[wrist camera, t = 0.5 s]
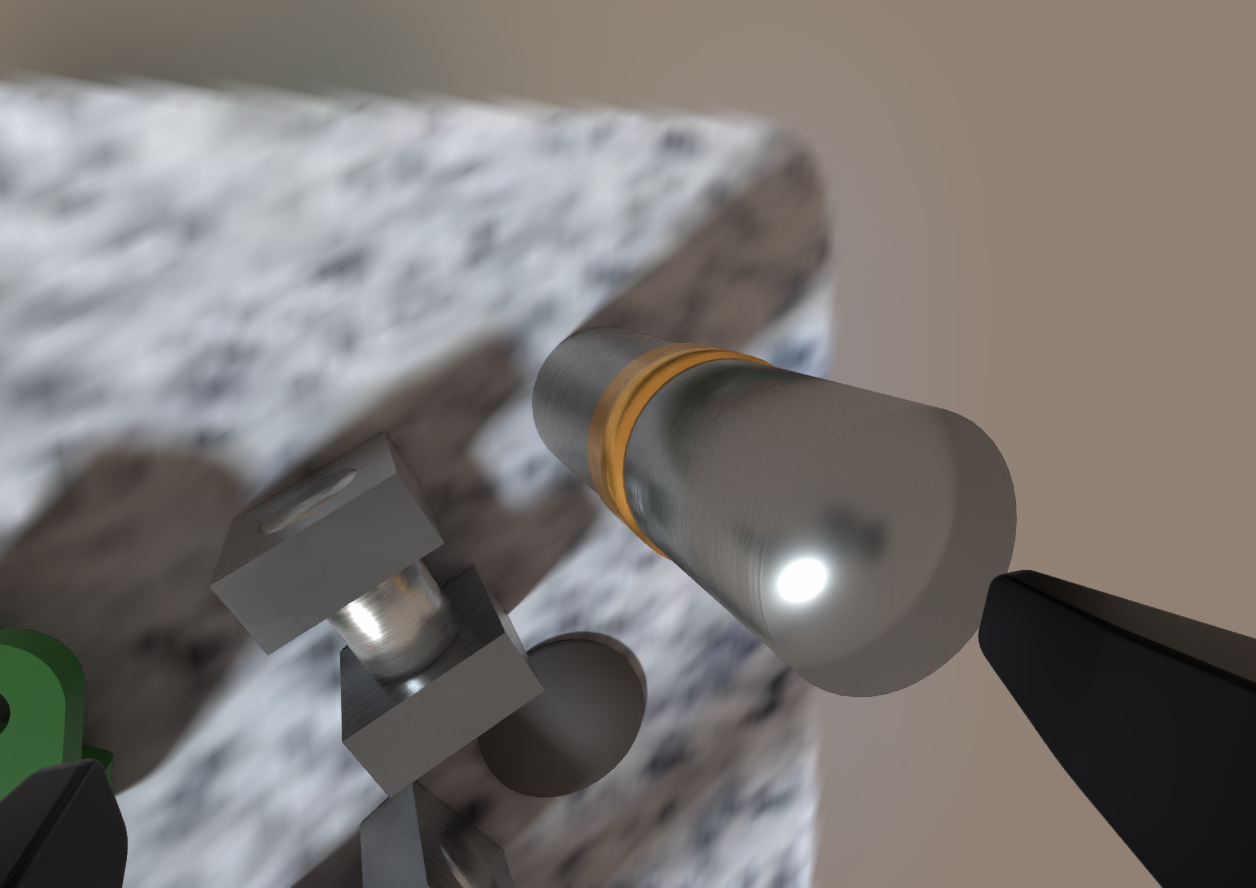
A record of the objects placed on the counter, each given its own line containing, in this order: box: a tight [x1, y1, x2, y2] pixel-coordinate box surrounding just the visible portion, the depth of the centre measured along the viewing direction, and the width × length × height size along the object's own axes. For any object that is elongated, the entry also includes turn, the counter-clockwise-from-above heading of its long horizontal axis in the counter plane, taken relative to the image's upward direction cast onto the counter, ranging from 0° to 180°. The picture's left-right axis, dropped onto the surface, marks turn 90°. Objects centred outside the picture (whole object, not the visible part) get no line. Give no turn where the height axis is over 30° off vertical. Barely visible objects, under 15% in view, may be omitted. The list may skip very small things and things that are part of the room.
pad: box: [480, 640, 644, 797], centre depth 25 cm, size 5×5×1 cm
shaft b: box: [209, 431, 545, 798], centre depth 20 cm, size 7×4×4 cm, turn 28°
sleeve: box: [532, 327, 1017, 697], centre depth 17 cm, size 5×5×13 cm
